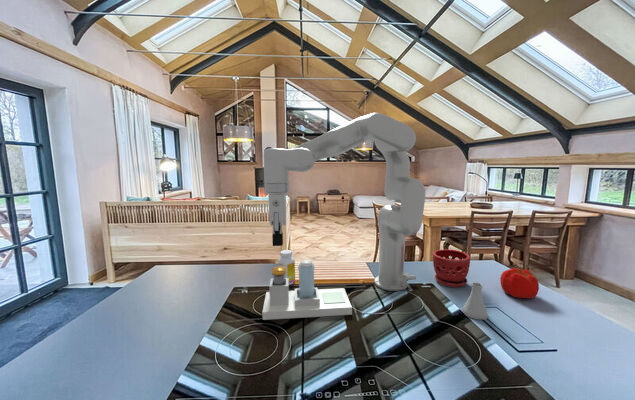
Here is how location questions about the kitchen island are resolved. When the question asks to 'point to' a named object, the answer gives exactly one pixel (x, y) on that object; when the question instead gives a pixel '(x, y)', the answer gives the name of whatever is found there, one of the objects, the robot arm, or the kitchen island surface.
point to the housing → (304, 303)
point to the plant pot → (451, 267)
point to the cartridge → (306, 279)
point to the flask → (475, 303)
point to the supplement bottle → (288, 264)
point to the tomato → (519, 283)
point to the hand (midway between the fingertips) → (277, 245)
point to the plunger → (279, 275)
